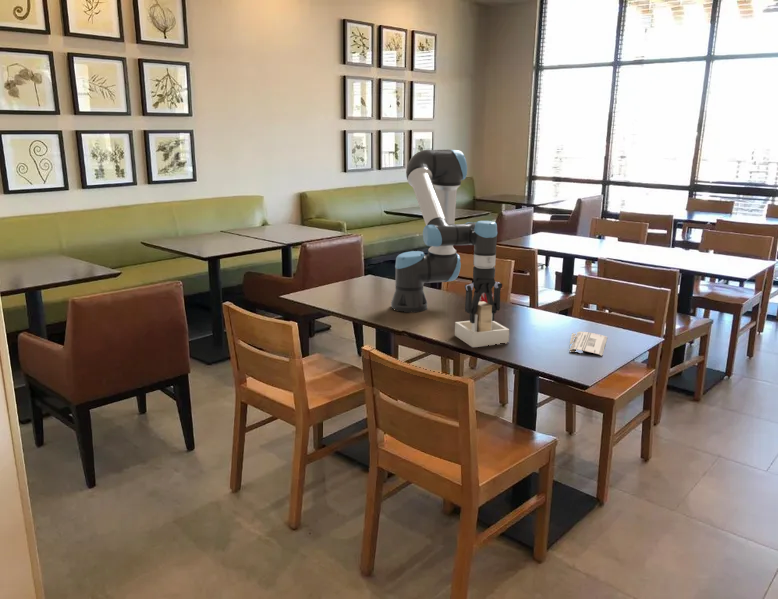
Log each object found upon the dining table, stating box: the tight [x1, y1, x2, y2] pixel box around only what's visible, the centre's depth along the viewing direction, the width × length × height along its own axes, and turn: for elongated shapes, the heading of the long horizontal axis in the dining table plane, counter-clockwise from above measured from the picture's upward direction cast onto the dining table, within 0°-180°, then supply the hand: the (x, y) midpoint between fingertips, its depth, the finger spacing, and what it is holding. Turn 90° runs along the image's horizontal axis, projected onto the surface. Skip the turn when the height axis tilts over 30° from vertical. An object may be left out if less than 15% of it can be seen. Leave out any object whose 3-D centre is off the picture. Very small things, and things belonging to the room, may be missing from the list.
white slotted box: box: [454, 320, 510, 348], centre depth 221 cm, size 14×14×5 cm
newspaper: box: [569, 331, 608, 357], centre depth 216 cm, size 23×12×2 cm, turn 157°
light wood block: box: [476, 301, 492, 332], centre depth 220 cm, size 6×4×12 cm, turn 20°
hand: (481, 330), depth 221 cm, fingers open, 5 cm apart
